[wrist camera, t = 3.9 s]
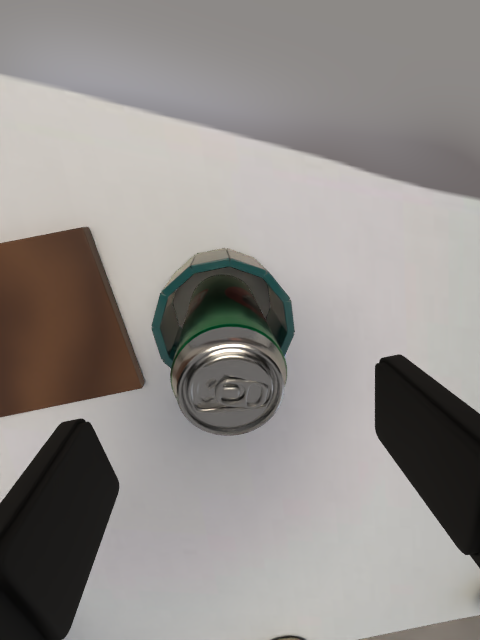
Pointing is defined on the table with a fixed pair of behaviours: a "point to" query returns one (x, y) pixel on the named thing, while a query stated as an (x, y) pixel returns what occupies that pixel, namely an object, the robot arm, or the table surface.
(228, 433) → the soda can
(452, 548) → the table surface
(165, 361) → the teal cup
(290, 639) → the travel mug
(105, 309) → the walnut board
